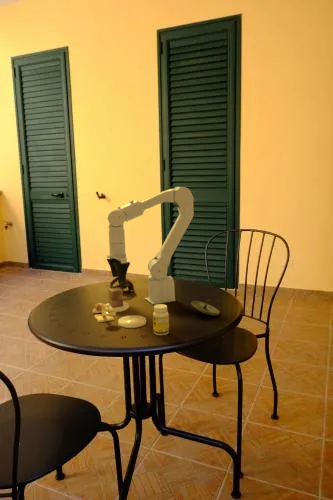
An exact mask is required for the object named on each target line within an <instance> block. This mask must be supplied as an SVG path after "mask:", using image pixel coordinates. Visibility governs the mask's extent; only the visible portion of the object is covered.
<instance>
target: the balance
mask: <svg viewBox="0 0 333 500" xmlns="http://www.w3.org/2000/svg"><path fill="white" fill-rule="evenodd" d="M106 304H107V303H101V302H98V303H96V304H94V308H93V309H92V313H93V314H94V318H95V320H96V321H97V322H98V323H104V322H110V321H114V320H115V319H114V317H113V316H114V315H117V312H116V311H114V310H109V307H110V305H106ZM105 307H107V308H108V310H106V311H105Z"/></svg>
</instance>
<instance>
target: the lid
mask: <svg viewBox="0 0 333 500" xmlns="http://www.w3.org/2000/svg"><path fill="white" fill-rule="evenodd" d="M209 303H210V300H209V299H206V300H205V302H204V301H199V300H192V301H190V305H192V307H193V308H195V309H196V310H198V311H199V312H201V313H203V314H205V315H210V316H215V317H216V316H219V315H220V314H221V312H220V310H219V309H218V308H217V307H215V306H213V305H212V304H209Z"/></svg>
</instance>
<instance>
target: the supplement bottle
mask: <svg viewBox="0 0 333 500" xmlns="http://www.w3.org/2000/svg"><path fill="white" fill-rule="evenodd" d="M169 316H170V315H169V312H168V306H167V305H166V304H165V303H159V304H154V306H153V312H152V324H153V325H152V327H153V328H152V329H153V333H154V335H156V336H165V335H168V334H169V332H170V323H169V321H170V317H169Z"/></svg>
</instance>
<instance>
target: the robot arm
mask: <svg viewBox="0 0 333 500" xmlns="http://www.w3.org/2000/svg"><path fill="white" fill-rule="evenodd" d="M194 200H195V197H194V196H193V194H192V191H191V189H189V188H187V187H185V186H176V187H174V188H169V189H166V190H162V191H161V192H159V193H157V194H155V195H153V196H150V197H149V198H147V199H144V200H142V201H139V200H130V201H129V202H128V203H127V204H124V205H122V206H117V209H112V210H111V211H110V212H109V213H108V214H107V221H108V223H109V224H108V243H109V254H108V255H106V261H107V264H108V265H109V268H110V271H111V275H112V278H116V277H118V279H119V282H122V281H125V279H126V278H127V272H128V269H129V266H130V265H131V262H129V261H128V260H127V258H128V257H127V254H126V237H125V229H124V223H125V222H127V223H128V222H130V221H132V220H134V219H136V218H139V217H141V216H143V215H144V213H145V211H146V210H147V209H151V208H152V207H156V206H157V205H160V204H162V203H174V204H175V206H176V208H177V211H178V216H177V218H176V220H175V221H174V224H173V225H172V227H171V229H170V230H169V233H168V234H167V236H166V238H165V240H164V241H163V244H162V245H161V247H160V248H159V251H157V252H156V254H155V255H154V256H153V258H151V260H149V261H148V264H147V270H148V271H149V272H150V274H149V275H148V276H147V280H148V297H145V300H146V301H147V302H148V303H150V304H151V305H157V304H166V303H172V302H176V297H175V296H176V294H175V288H176V287H175V280H174V278H173V277H172V276H171V275H169V276H168V268H169V266H170V264H171V259H172V257H173V255H174V253H175V251H176V249H177V247H178V246H179V243H180V242H181V240H182V238H183V237H184V234H185V232H186V231H187V229H188V227H189V225H190V223H191V221H192V220H193V217H194V214H195V213H194V212H195V211H194Z"/></svg>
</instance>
